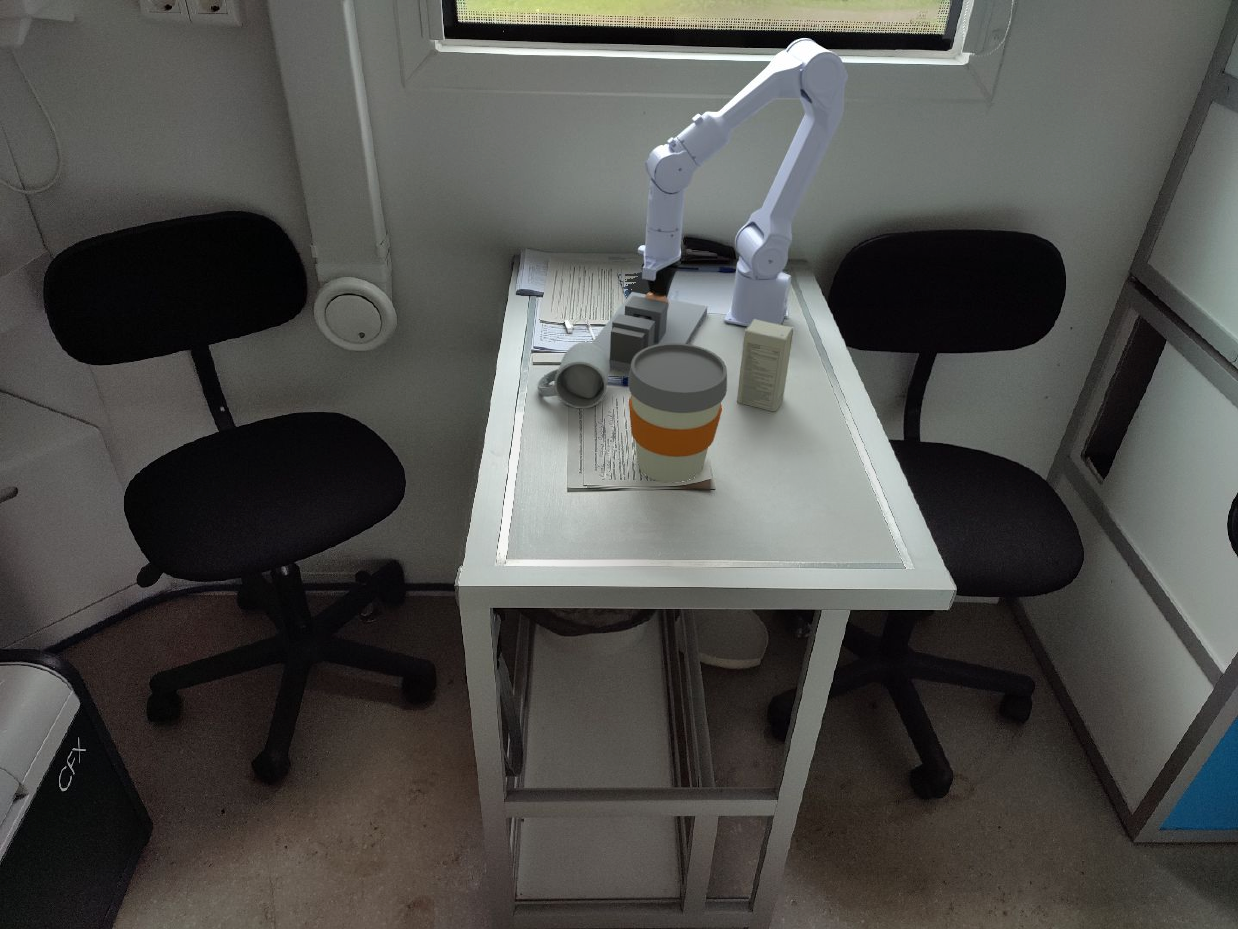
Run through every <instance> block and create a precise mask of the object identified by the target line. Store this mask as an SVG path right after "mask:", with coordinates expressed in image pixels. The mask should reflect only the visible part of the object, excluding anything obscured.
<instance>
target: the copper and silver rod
mask: <svg viewBox="0 0 1238 929" xmlns="http://www.w3.org/2000/svg"><path fill="white" fill-rule="evenodd" d="M644 298H649V299H654V300H659V301H664V302H668V308H669V301H668V299H669V298H668V297H666V296H665V295H664V294H663V293H661V292H659V291H651V292H649V293H648V294H647V295H646V296H645V297H644ZM637 318H642V319H647V320H651V317H650V316H645V315H640V314H639V315H638V317H637Z"/></svg>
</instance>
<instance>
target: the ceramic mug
mask: <svg viewBox="0 0 1238 929" xmlns="http://www.w3.org/2000/svg"><path fill="white" fill-rule="evenodd" d="M610 369H611V368H610V364H609V359H608V356H607V354H606V353H605V351H604V350H603V349H602V348H601V347H599V346H598V345H596V344H593V343H592V342H589V341H588V342H585V341H583V342H577V343H575V344H573V345H572V346H571V347H570V348H568V349H567V351H566V352H565V353H564V355H563V357H562V360H561V362H560V364H559V367H558V368H556V369H554V370H551V371H550V372H549V371H548V373H546V374H544V376H542V377H541V378H540V379H539V381H538V383H537V386H536V387H537V389H538V391H539V393H540V394H541V396H543V397H545V398H548V397H556V396H558V398H559V399H560V400H561V402H562V403H564V404H566V405H567V406H570V407H572V408H576V409H589V408H592V407H595V406H596V405H598V404H599V403H600V402H601V401H602V400H603V399H604V397H605V395H606V393H607V389H608V388H607V387H608V382H609V375H610V371H611V370H610ZM552 382H554V383H553V385H552V386H551V385H550V383H552ZM549 385H550V386H549Z"/></svg>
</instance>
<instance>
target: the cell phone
mask: <svg viewBox="0 0 1238 929" xmlns="http://www.w3.org/2000/svg"><path fill="white" fill-rule="evenodd" d="M637 269H638V268H637ZM638 270H642V268H641V269H638ZM619 276H621V274H619ZM625 276H638V277H635V278H633V279H631V278H630V279H627V281H625V282H636V283H634V284H633V283H632V284H628V286H625V287H623V288H624V289H628V290H626V291H625V293H624V295H625V294H626V296H627V298H628V296H629V295H630V294H631V292H635V293H640V294H645V295H647V294H648V293H649V292H650V290H649V285H648V282H647V279H642V272H638V273H637V274H636V273H634V274H625ZM625 280H626V279H625ZM621 282H623V281H621ZM626 285H627V284H626ZM623 288H622V289H623ZM631 289H632V290H631ZM626 296H625V297H626Z"/></svg>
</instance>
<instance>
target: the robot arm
mask: <svg viewBox="0 0 1238 929" xmlns="http://www.w3.org/2000/svg"><path fill="white" fill-rule="evenodd" d="M848 79H849V74H848V72H847V70H846V67H845V65H844V62H843V60H842V59H841V57H840V56H839V55H838V54H837V53H835V52H834V51H831V50H828V49H826V48H824V47H823V46H821V45H819V44H818V42H817V43H816V41H815V40H812V39H811V38H806V37H805V38H804V37H803V38H799V39H795V40H794V41H792V42H791V43H790V44H789V45H788V46H787V48H786V49H785V50H782V51H780V52H779V53H777V54H776V55H775V56H774V57H773V58H772V60H771V61H770V63H768V65H767V66H766V67H765V68H764V69H763V70H762V71H761V72H760V73H759V74H758V75H757V76H756V77H755V78H754V79H752V80H751V81H750V82H749V83H748V84H747V85H746V86H745V87H744V88H742V90H741V91H739V92H738V93H737V94H736V95H735V96H734V97H733V98H731V100H729V102H727V103H726V104H725V105H724V106H723V107H721V109H720V110H719V111H705V112H704V113H702V115H701V114H699V113H697V114H696V115H695V116H693V117H692V118H691V121H692V123H690V125H688V126H687V127H686V128H685V129H684V130H682V131H681V132H680V133H679V134H678V135H676V136H675V137H672V136H671V137H670V138H668V140H667V141H666V142H667V144H664V145H663V144H660V145H658V146H656V147H655V148H653V150H652V151H651V152H650V153H649V155H648V156H649V157H648V158H647V160H646V161H645V163H644V166H645V170H646V172H647V175H649V177H650V179H649V185H648V186H649V187H648V188H649V189H648V196H647V210H646V224H645V225H646V227H645V228H646V229H645V243H644V244H645V245H644V244H643V245H640V246H639V247H638V248H637V253H638V254H639V255H643V263H642V264H641V269H642V279H647V282H648V285H649V290H650V292H651V291H659V292H661V293H663V294H664V295H665V296H666V297H667V298H668V296H669V293H670V289H671V286H672V283H673V281H674V280H673V279H674V278H675V275H676V273H677V271H678V269H679V268H680V266H681V265H682V264H681V263H682V261H681V260H680V259H681V258H682V256H681V255H682V251H681V250H682V249H681V245H682V244H681V242H682V233H683V232H682V231H683V221H684V211H685V210H684V207H685V192H686V188H687V187H688V186H689V185H690V184H691V182H692V179H693V175H694V173H695V172H696V171H697V170H698V169H699V168H701V167H702V166H703V165H704V164H705V163H706V162H708V161H710V159H711V158H712V157H714V156H715V155H717V154H718V153H720V151H721V150H723V149H724V148H725V147H726V146H727V145H729V143H730V140H731V136H732V132H733V130H735V129H736V128H737V127H739V126H740V125H742V124H743V123H745V122H746V121H747V120H748V119H749V118H752V116H754V115H755V114H757V113H758V112H760V110H762V109H763V108H764V107H766V106H767V105H769V104H770V103H771V102H773V101H774V100H776V99H779V98H781V99H783V98H784V99H787V98H788V99H799V101H800V102H801V106H802V107H803V111H804V116H803V117H802V120H801V122H800V124H799V126H798V128H797V131H796V133H795V135H794V137H793V139H792V141H791V143H790V146H789V148H788V150H787V153H786V154H785V157H784V159H783V161H782V163H781V166H780V167H779V169H778V171H777V174H776V175H775V178H774V181H773V182H772V184H771V186H770V189H769V191H768V192H767V195H766V196H765V197H766V198H765V199H764V201H763V204H762V206H761V208H759V209H756V210H755V211H753V212H752V213H751V214H750V216H749V218H748V220H747V222H746V223H745V224H744V225H743V226H742V227H741V228H739V230H738V232H737V233H736V235H735V238H734V248H735V250H736V252H737V253H738V256H739V257H738V261H737V263H736V269H735V270H736V271H735V277H734V286H733V293H732V298H731V299H732V300H731V305H730V307H729V310H728V312H727V314H726V315H725V317H724V319H723V321H724V322H725V323H728V324H731V325H733V324H734V325H739V326H742V327H743V326H744V327H748V325H749V324H750V323H751V322H752V321H753V319H757V320H762V321H767V322H772V323H776V324H781V325H782V323H783V320H784V318H785V317H786V316H787V310H788V306H787V305H788V300H789V294H790V291H791V290H790V289H791V284H792V282H791V281H792V275H790V274H787V273H785V272H783V270H784V269H785V268H786V267H787V263H788V259H789V255H788V254H789V248H790V245H791V244H792V242H793V234H792V222H793V220H794V217H795V216H796V214H797V212H798V209H799V207H800V206H801V203H802V201H803V199H804V198H805V195H806V193H807V191H808V189H809V187H810V185H811V183H812V181H813V179H814V177H815V174H816V172H817V170H818V168H819V166H820V165H821V162H822V160H823V158H824V156H825V154H826V152H827V149H828V148H829V146H830V143H831V141H832V140H833V137H834V136H835V133H836V131H837V128H838V127H839V125H840V123H841V121H842V120H843V115H844V112H845V110H844V109H845V86H846V83H847V81H848Z"/></svg>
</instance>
